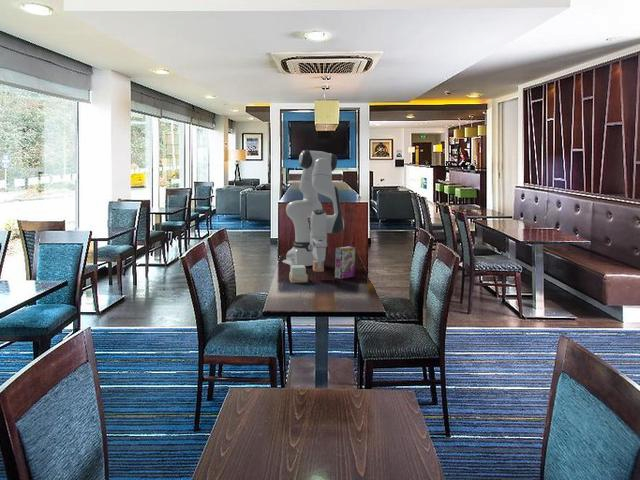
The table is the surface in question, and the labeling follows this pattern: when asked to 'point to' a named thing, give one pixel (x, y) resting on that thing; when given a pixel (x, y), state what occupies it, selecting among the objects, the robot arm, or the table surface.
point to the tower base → (298, 278)
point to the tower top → (297, 270)
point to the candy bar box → (344, 262)
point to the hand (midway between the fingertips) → (318, 266)
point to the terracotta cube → (317, 267)
